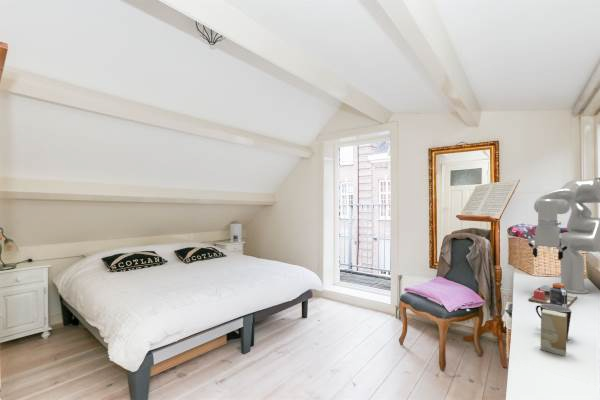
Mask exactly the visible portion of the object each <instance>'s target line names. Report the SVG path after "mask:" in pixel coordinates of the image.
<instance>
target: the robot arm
mask: <svg viewBox="0 0 600 400" xmlns="http://www.w3.org/2000/svg"><path fill="white" fill-rule="evenodd" d="M592 203H593V204H596V203H597V204H598V203H599V204H600V181H598V180H596V179H576V180H570V181H568V182H566V183H565V184H564V185H563V186H562V187H561V188H559V189H558V190H553V191H551V192H548V193H545V194H543V195H540V197H538V198H537V199H536V201H534V204H533V209H534V211H535V212H536V213H537V225H536V227H535V231H534V237H531V238H527V239H526V240H525V241H526V243H527V244H528V246H529V247H530V248H531V249H532V255H533V258H538V247H546V248H547V247H548V248H556V249H557V250H558V252H557V260H559V261H560V284H564V289H565V290H566V291H567V293H569V294H579V295H580V294H583V295H585V294H586V295H587V294H588V293H589V290H588V289H585V259H584V257H583V255H582V253H580V252H591V253H596V252H599V251H600V217H593V216H592V215H593V214H592V210H591V209H590V208H589V207H588V206H587V205H585V204H592ZM570 210H571V212H570V216H569V218H568V221H567V224H566V230H567V231H566V232H565V231H564V232H562V231H561V227H559V226H560V225H562V222H561V221H559V220H558V215H564V214H567V213H569V211H570ZM561 232H562V233H561ZM532 241H533V242H534V244H533V243H532Z"/></svg>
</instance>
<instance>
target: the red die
mask: <svg viewBox="0 0 600 400" xmlns="http://www.w3.org/2000/svg"><path fill="white" fill-rule="evenodd" d="M533 296H534V299H540V300H544V299H545V291H541V290H536V289H534V291H533Z"/></svg>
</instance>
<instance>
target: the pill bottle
mask: <svg viewBox="0 0 600 400" xmlns="http://www.w3.org/2000/svg"><path fill="white" fill-rule="evenodd" d="M567 294H568V292H567V291H566V290H565V289H564V284H561V282H560V283H557V282H553V283H552V287H550V304H553V305H559V306H563V307H567Z"/></svg>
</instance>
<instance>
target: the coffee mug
mask: <svg viewBox="0 0 600 400" xmlns="http://www.w3.org/2000/svg"><path fill="white" fill-rule="evenodd" d="M539 308H540V312H539V310H538V309H539ZM543 309H546V310H551V311H556V312H560V313H566V314H567V340H568V338H569V331H570V323H571V317H572V309H571V308H570V307H569V308H567V307H563V306H559V305H553V304H541V303H540V305H536V306H535V312H536V314H537V315H538V317H539V319H541V312H542V310H543Z"/></svg>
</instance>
